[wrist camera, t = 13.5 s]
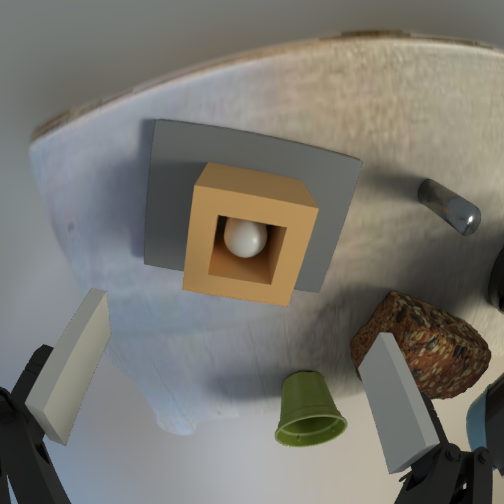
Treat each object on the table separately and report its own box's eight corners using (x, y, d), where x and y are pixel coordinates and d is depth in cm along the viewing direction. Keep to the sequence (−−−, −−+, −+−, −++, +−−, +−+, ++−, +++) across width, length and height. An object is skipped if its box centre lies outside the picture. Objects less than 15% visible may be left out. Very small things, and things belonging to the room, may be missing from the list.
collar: (301, 180, 25) (318, 208, 19) (279, 260, 29) (287, 306, 23) (208, 162, 25) (194, 185, 18) (195, 245, 28) (182, 289, 22)
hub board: (357, 158, 26) (392, 180, 19) (316, 284, 32) (331, 333, 26) (160, 118, 24) (129, 127, 17) (148, 256, 30) (124, 301, 24)
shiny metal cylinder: (442, 183, 27) (485, 210, 20) (433, 207, 28) (473, 238, 21) (422, 176, 26) (465, 201, 20) (414, 201, 28) (453, 232, 21)
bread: (470, 317, 36) (501, 362, 28) (427, 365, 41) (450, 412, 32) (390, 281, 33) (427, 340, 24) (342, 344, 37) (361, 406, 28)
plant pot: (346, 380, 41) (359, 428, 33) (295, 406, 44) (301, 452, 36) (312, 352, 38) (324, 407, 30) (257, 383, 40) (259, 435, 33)
